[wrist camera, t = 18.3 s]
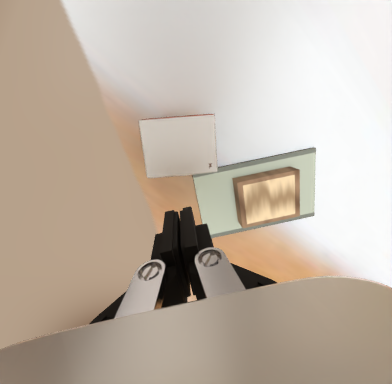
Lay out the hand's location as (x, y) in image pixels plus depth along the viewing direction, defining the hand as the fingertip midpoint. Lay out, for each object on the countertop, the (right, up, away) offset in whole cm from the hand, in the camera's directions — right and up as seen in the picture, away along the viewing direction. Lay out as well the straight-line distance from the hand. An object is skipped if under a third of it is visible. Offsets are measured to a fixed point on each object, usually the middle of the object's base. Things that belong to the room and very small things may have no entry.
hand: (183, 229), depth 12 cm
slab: (+8, 0, +23) cm, 24 cm away
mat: (+13, +2, +25) cm, 28 cm away
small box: (-2, +11, +21) cm, 24 cm away
